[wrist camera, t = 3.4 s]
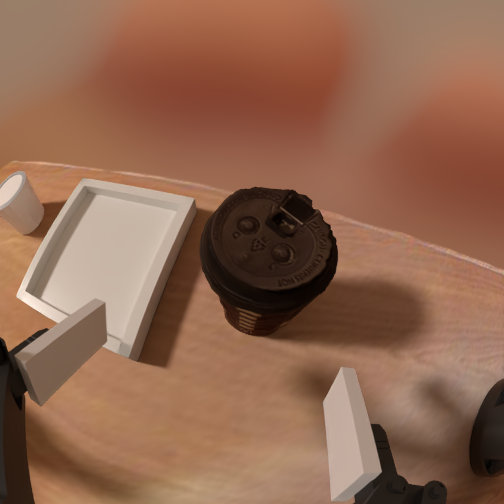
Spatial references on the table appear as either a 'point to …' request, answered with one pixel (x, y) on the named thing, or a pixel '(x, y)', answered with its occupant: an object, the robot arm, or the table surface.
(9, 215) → the shot glass
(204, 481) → the table surface
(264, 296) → the coffee cup
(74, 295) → the tray
